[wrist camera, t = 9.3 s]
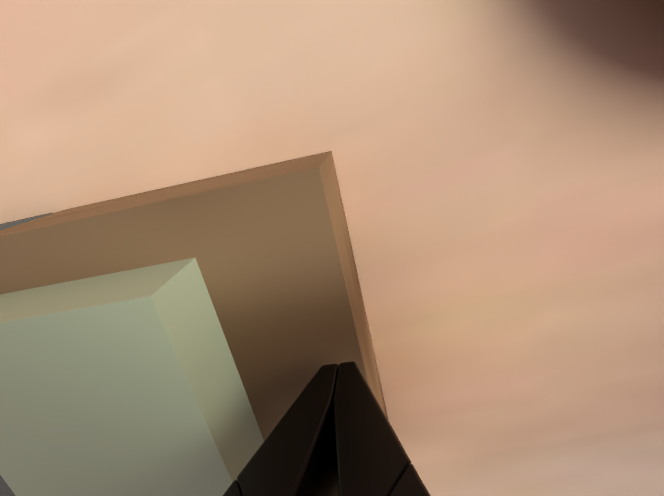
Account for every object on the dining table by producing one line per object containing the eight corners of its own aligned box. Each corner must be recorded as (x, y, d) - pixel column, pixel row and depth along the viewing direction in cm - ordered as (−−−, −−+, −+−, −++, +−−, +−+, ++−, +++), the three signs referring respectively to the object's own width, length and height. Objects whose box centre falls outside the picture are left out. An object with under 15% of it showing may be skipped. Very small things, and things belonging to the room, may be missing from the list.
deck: (419, 568, 19) (435, 681, 15) (243, 578, 20) (217, 684, 16) (331, 151, 11) (318, 167, 8) (64, 210, 13) (-57, 248, 9)
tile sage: (271, 461, 11) (254, 532, 9) (101, 478, 12) (53, 546, 10) (195, 257, 9) (150, 296, 7) (-10, 296, 9) (-100, 340, 8)
